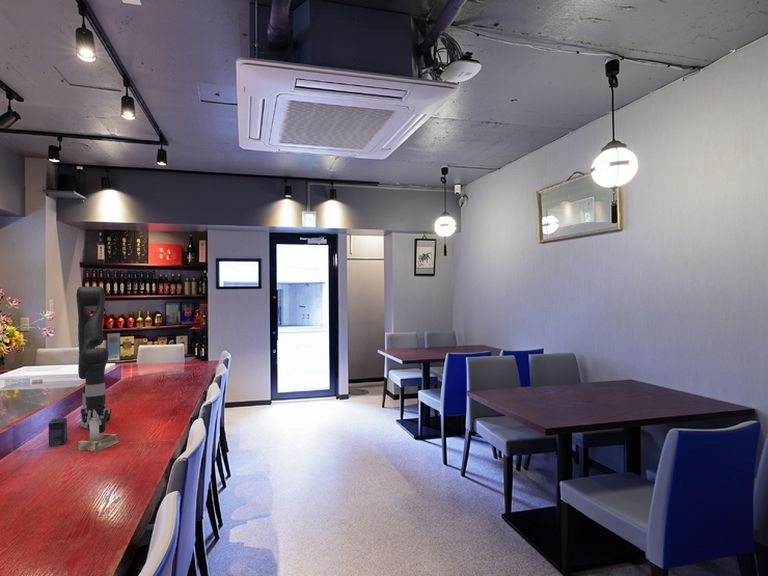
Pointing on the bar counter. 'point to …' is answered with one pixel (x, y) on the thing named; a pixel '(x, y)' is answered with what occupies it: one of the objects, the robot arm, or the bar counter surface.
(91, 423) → the bottle
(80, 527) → the bar counter surface
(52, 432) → the box
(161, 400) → the bar counter surface
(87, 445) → the rest
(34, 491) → the bar counter surface
